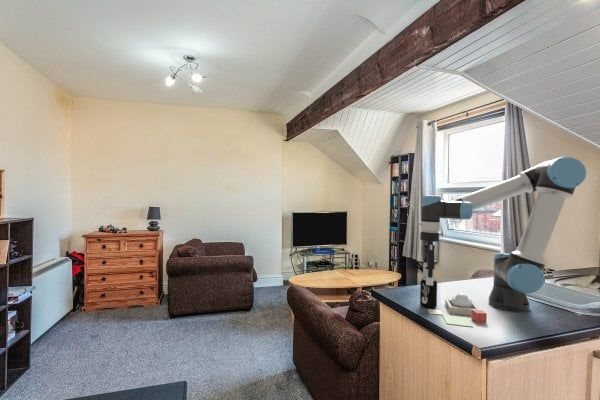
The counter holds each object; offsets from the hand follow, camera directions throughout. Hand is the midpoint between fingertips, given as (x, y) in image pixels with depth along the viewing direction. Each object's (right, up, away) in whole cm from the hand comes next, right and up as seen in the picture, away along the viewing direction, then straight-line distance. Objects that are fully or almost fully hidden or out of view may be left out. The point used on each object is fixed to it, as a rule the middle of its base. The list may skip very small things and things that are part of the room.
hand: (427, 281), depth 137 cm
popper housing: (+13, -11, -4) cm, 17 cm away
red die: (+13, -11, -15) cm, 23 cm away
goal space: (+5, -11, -16) cm, 20 cm away
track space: (0, -11, -7) cm, 13 cm away
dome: (+13, -9, -4) cm, 16 cm away
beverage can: (0, -11, 0) cm, 11 cm away
